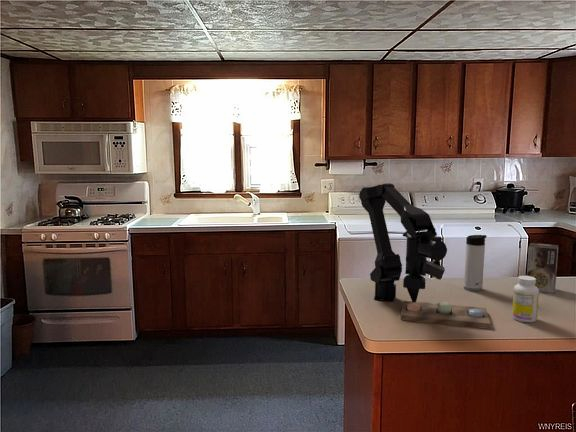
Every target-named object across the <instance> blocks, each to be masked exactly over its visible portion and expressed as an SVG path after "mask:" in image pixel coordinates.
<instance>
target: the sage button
mask: <svg viewBox="0 0 576 432" xmlns="http://www.w3.org/2000/svg"><path fill="white" fill-rule="evenodd" d="M437 304H438V306H437V312H439V313H438V314H449V315H451V314H450V313H451V305H452V304H451V303H450V302H447V301H439V302H437Z"/></svg>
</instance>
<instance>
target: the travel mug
mask: <svg viewBox="0 0 576 432" xmlns="http://www.w3.org/2000/svg"><path fill="white" fill-rule="evenodd" d="M486 239H487V235H486V234H471V235H467V237H466V243H465V255H464V276H463V289H464V290H466V291H470V292H481V291H482V290H483V283H484V270H485V269H484V267H485V251H486V250H485V249H486V247H485V246H486Z"/></svg>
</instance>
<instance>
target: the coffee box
mask: <svg viewBox="0 0 576 432" xmlns="http://www.w3.org/2000/svg"><path fill="white" fill-rule="evenodd" d="M558 254H559V245H558V244H547V243H536V242H530V243H529V246H528V257H527V268H526V269H527V271H526V276H531V277H534V278H536V283H535V286H536V287H537V288H538V289H539V292H542V293H543V292H544V293H550V294H555V292H556V285H557V284H556V283H557V269H558V257H559V255H558Z"/></svg>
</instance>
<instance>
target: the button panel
mask: <svg viewBox="0 0 576 432" xmlns="http://www.w3.org/2000/svg"><path fill="white" fill-rule="evenodd" d="M411 303H414V304H419V305H420V306H421V307H420V312H416V311H407V305H408V304H411ZM437 306H438V303H432V302H423V301H422V302H421V301H416V302H412V300H409V301H408V300H403V301H402V306H401V314H400V320H401V321H409V322H418V321H420V323H430V324H440V325H450V326H460V327H468V328H469V327H471V328H479V329H480V328H481V329H490V330H491V329H492V322H491V319H490V316H489V314H488V310H487V307H481V306H469V305H457V304H451V313H450V314H441V313H439V312H437ZM469 309H479V310H482V311H483V318H481V317H470V316H468V315H469Z"/></svg>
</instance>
